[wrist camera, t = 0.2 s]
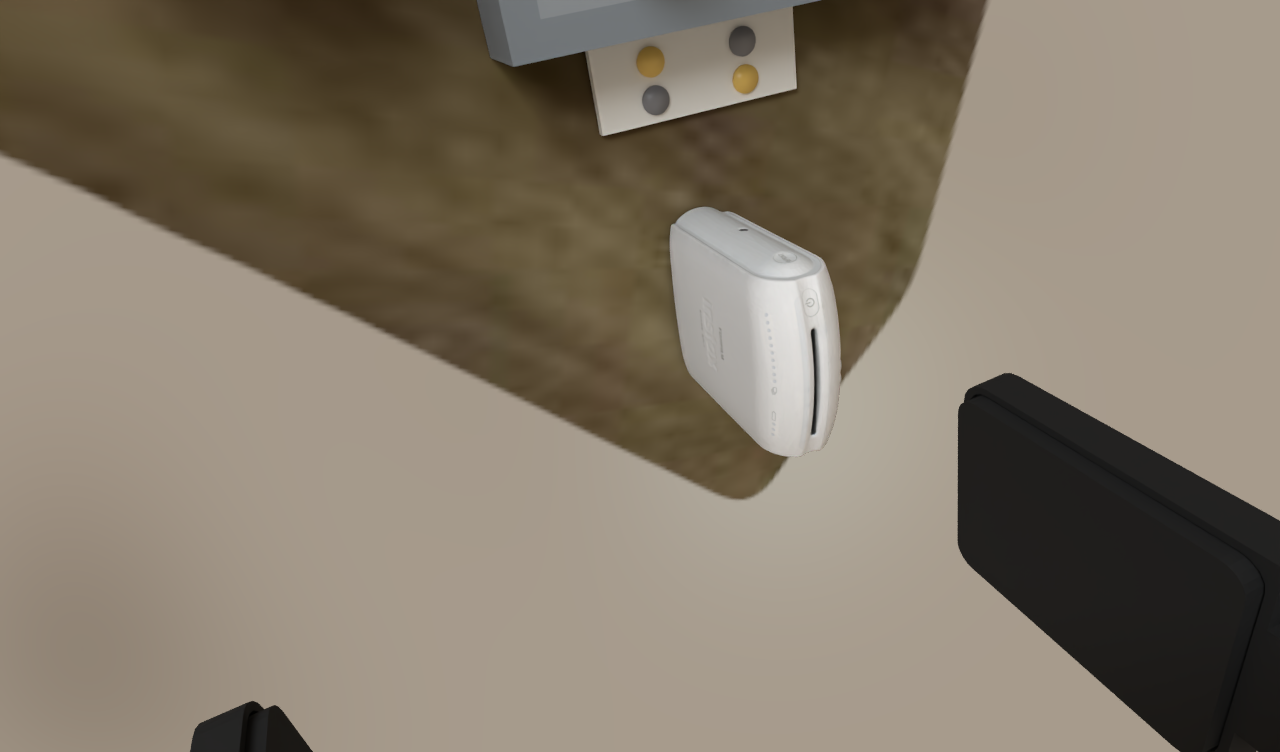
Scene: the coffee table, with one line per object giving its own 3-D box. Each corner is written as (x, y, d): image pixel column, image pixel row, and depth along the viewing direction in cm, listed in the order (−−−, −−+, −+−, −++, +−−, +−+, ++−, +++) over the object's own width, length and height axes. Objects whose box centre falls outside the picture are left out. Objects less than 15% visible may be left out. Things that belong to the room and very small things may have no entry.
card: (584, 49, 36) (589, 50, 36) (787, 5, 39) (794, 5, 38) (599, 134, 38) (604, 136, 38) (791, 87, 41) (798, 88, 40)
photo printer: (659, 213, 41) (772, 287, 31) (730, 196, 42) (862, 262, 32) (678, 377, 46) (780, 488, 36) (741, 358, 47) (858, 460, 37)
